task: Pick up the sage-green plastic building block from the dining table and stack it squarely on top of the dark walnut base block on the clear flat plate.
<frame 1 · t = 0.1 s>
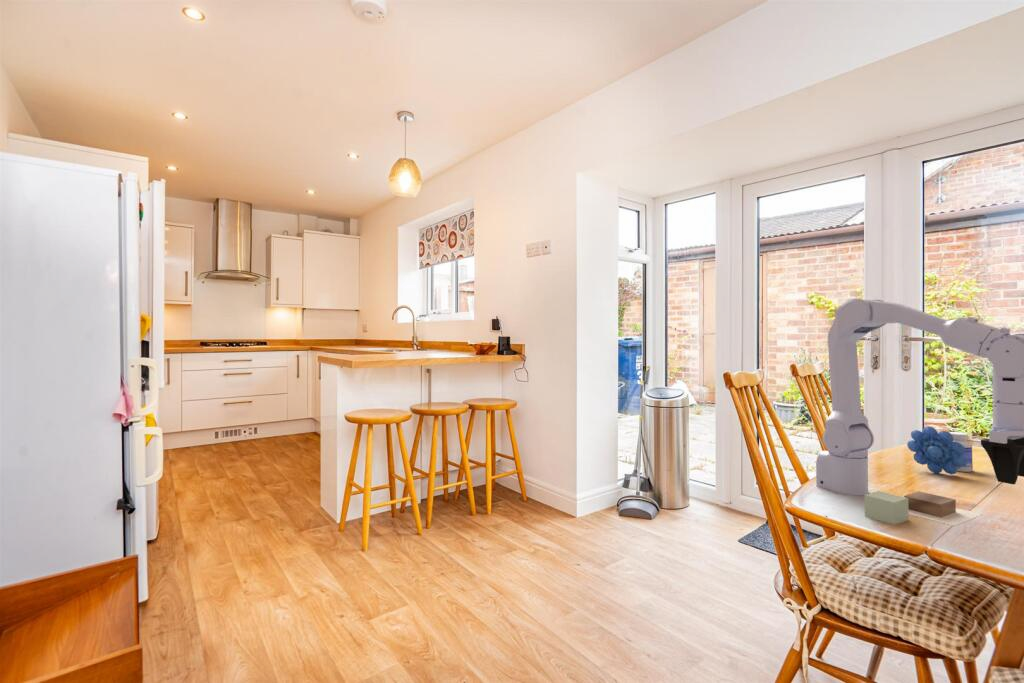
hand: (1016, 479, 85), 10 cm above the table, fingers open, 7 cm apart
blue flower: (935, 474, 125), on the table
walnut base block: (929, 510, 97), resting on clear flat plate
pill bottle: (958, 470, 129), on the table
sage block: (886, 522, 93), on the table
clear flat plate: (929, 514, 97), on the table
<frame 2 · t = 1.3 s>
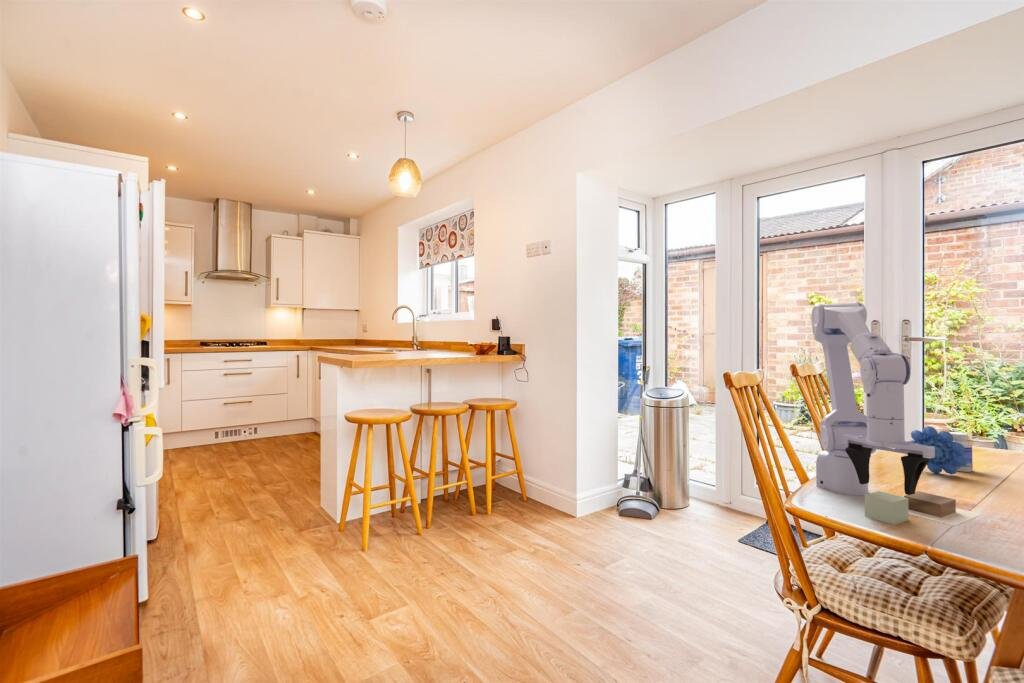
hand: (886, 488, 93), 6 cm above the table, fingers open, 7 cm apart
nothing on the table moved.
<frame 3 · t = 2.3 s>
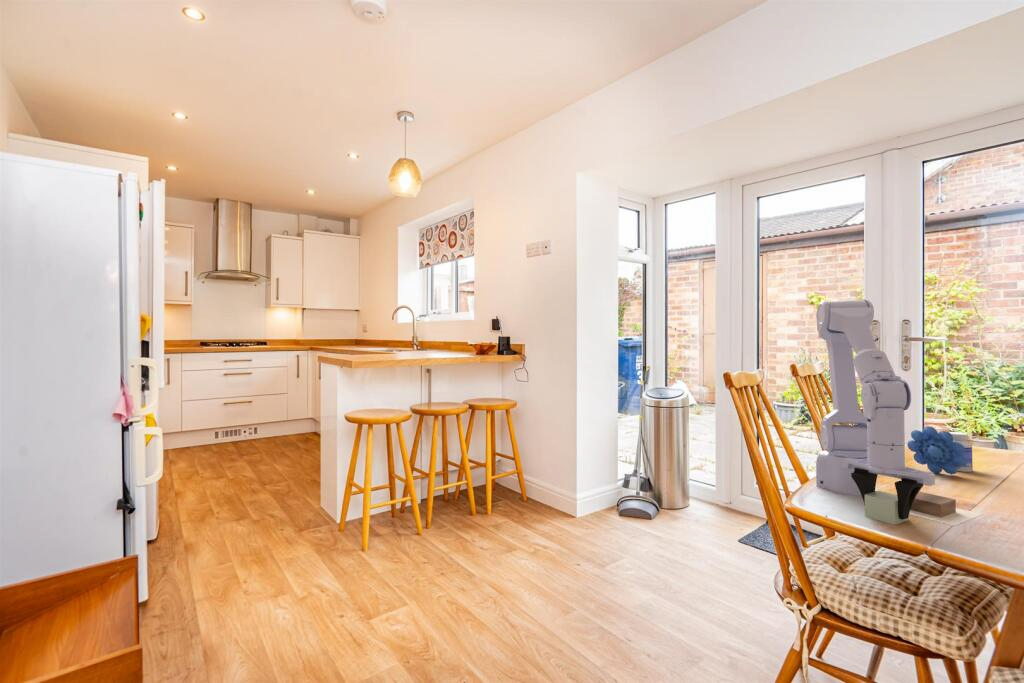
hand: (886, 513, 93), 2 cm above the table, fingers closed on sage block, 5 cm apart
sage block: (886, 522, 93), on the table, touching gripper
everything else where it was.
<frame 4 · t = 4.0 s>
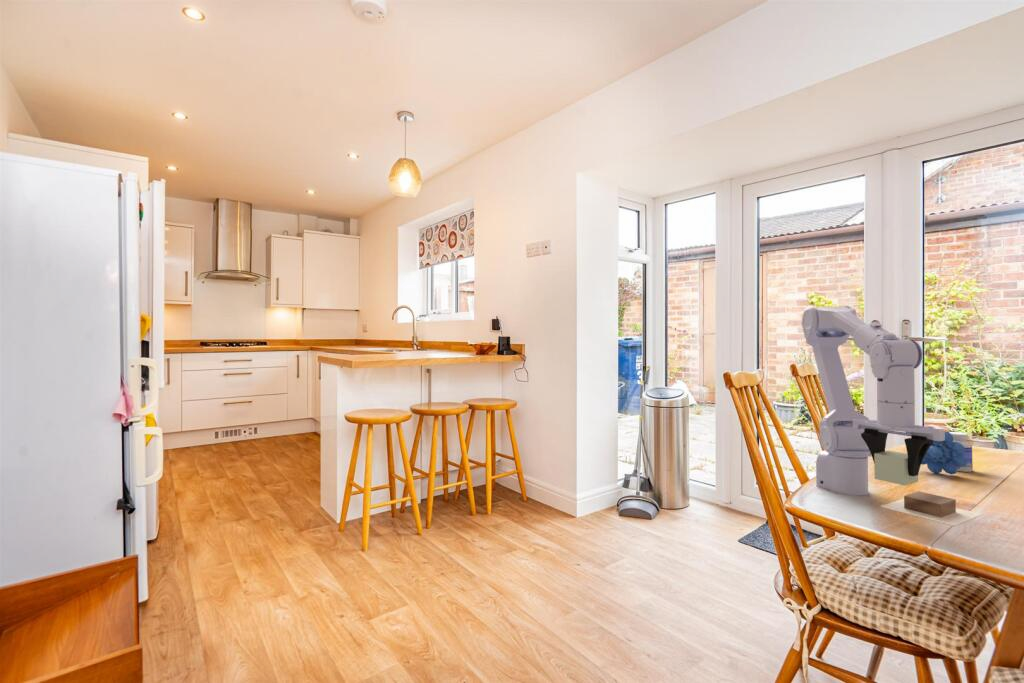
hand: (896, 471, 94), 9 cm above the table, fingers closed on sage block, 5 cm apart
sage block: (896, 480, 94), point 8 cm above the table, touching gripper
everything else where it was.
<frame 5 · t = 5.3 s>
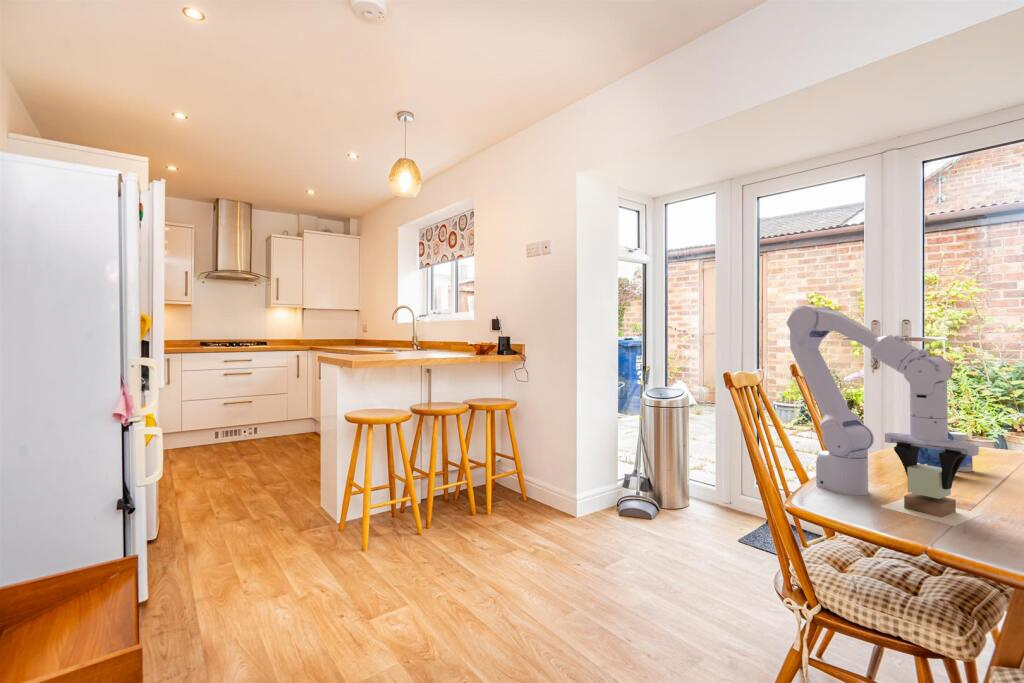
hand: (929, 484, 97), 6 cm above the table, fingers closed on sage block, 5 cm apart
sage block: (928, 493, 97), point 4 cm above the table, touching gripper
everything else where it was.
when the fingers open (6 cm above the table, at t = 6.1 s): sage block stays where it is, resting on walnut base block.
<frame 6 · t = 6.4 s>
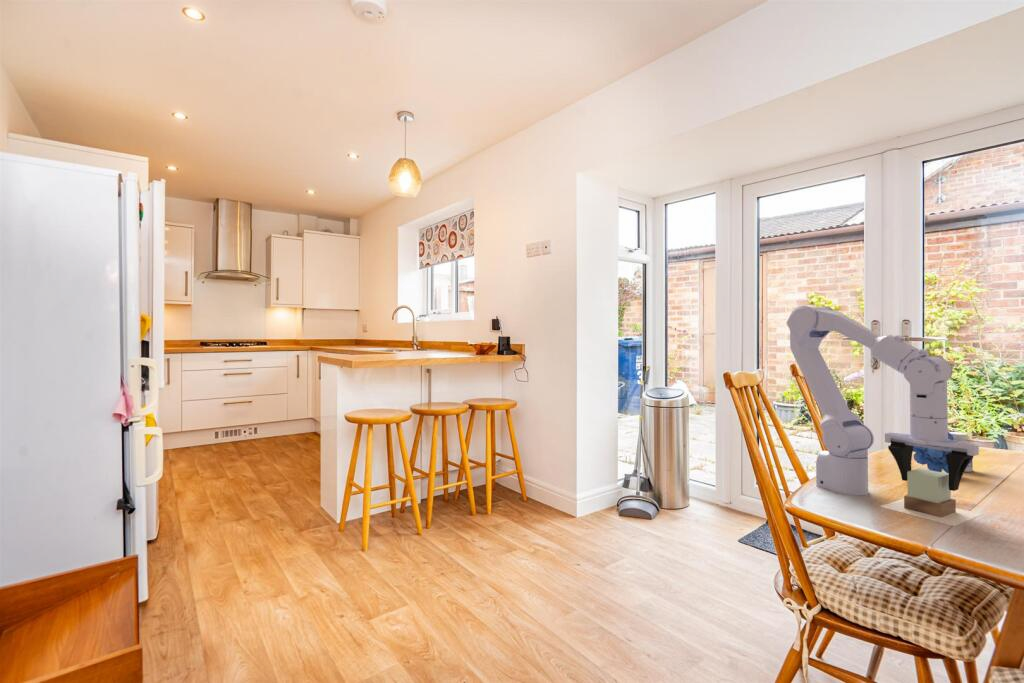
hand: (929, 484, 97), 6 cm above the table, fingers open, 7 cm apart
sage block: (928, 497, 97), point 3 cm above the table, touching walnut base block
everything else where it was.
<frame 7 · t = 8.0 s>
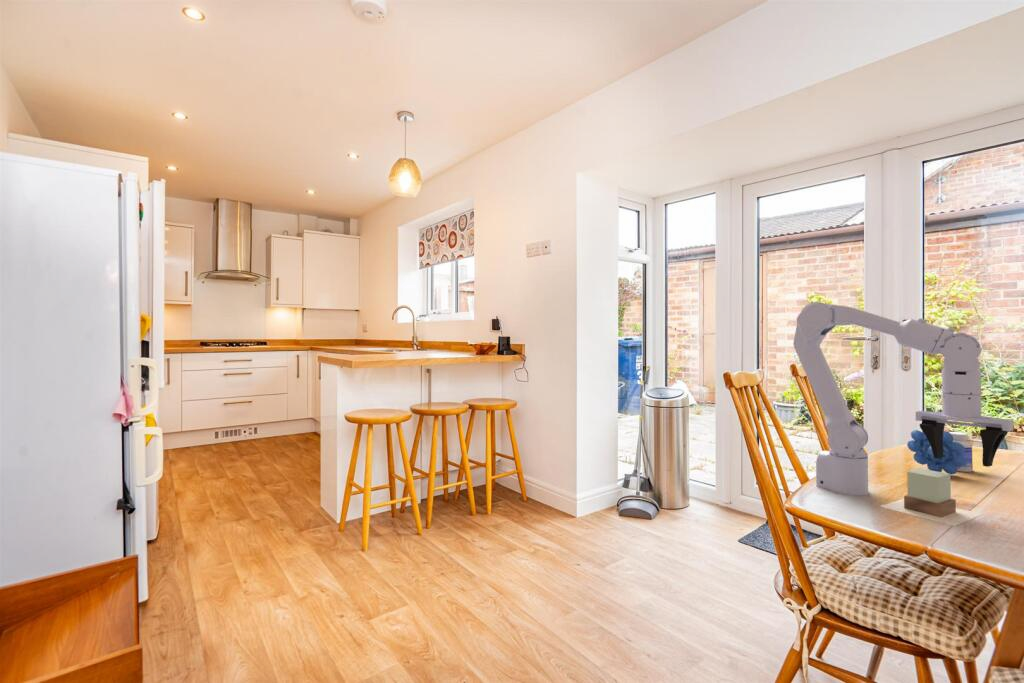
hand: (962, 461, 97), 10 cm above the table, fingers open, 7 cm apart
nothing on the table moved.
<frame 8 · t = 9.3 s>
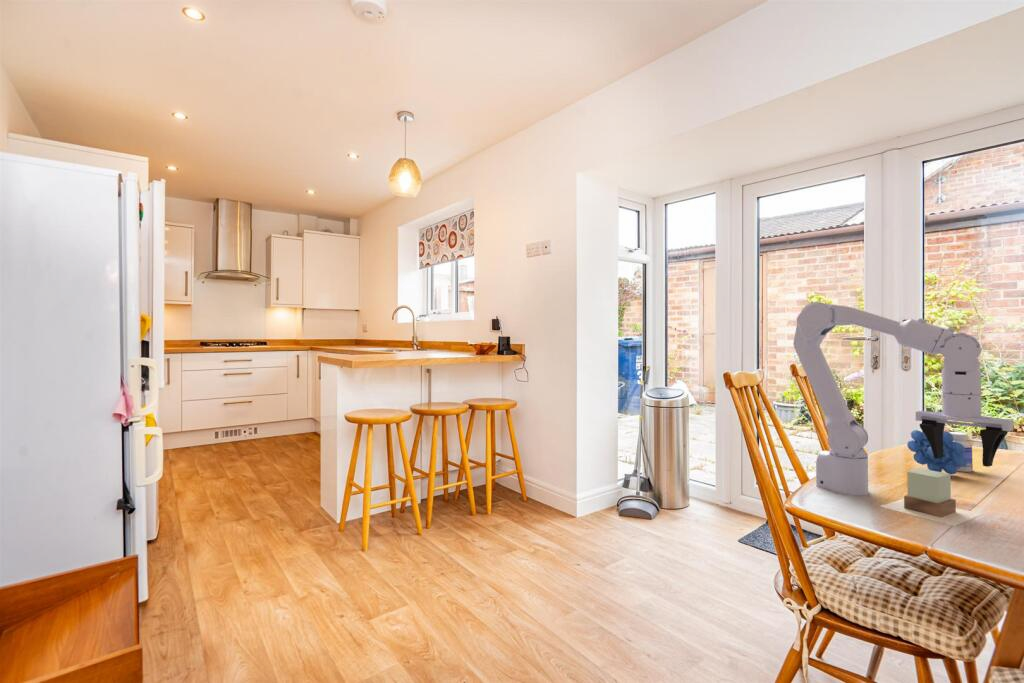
hand: (962, 461, 97), 10 cm above the table, fingers open, 7 cm apart
nothing on the table moved.
at the end: sage block 0.2 cm off-centre on the walnut base block, point 2.5 cm above the walnut base block's base; sage block tilted 0°; sage block touching walnut base block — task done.
